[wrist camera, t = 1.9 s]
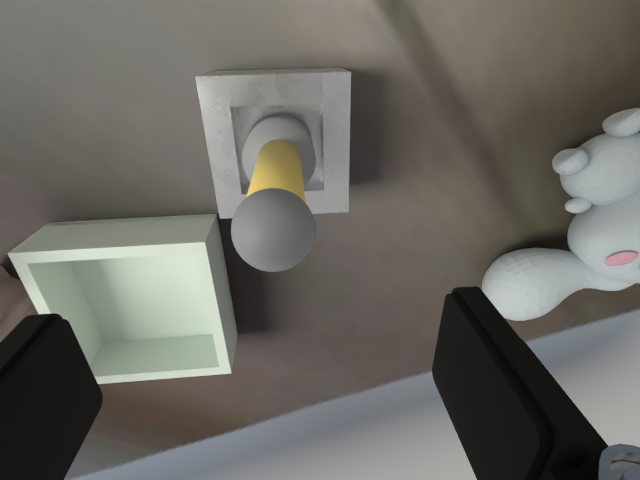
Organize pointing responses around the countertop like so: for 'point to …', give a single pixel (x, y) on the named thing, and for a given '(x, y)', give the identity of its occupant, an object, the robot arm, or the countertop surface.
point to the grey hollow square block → (271, 97)
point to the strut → (276, 195)
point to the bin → (136, 293)
